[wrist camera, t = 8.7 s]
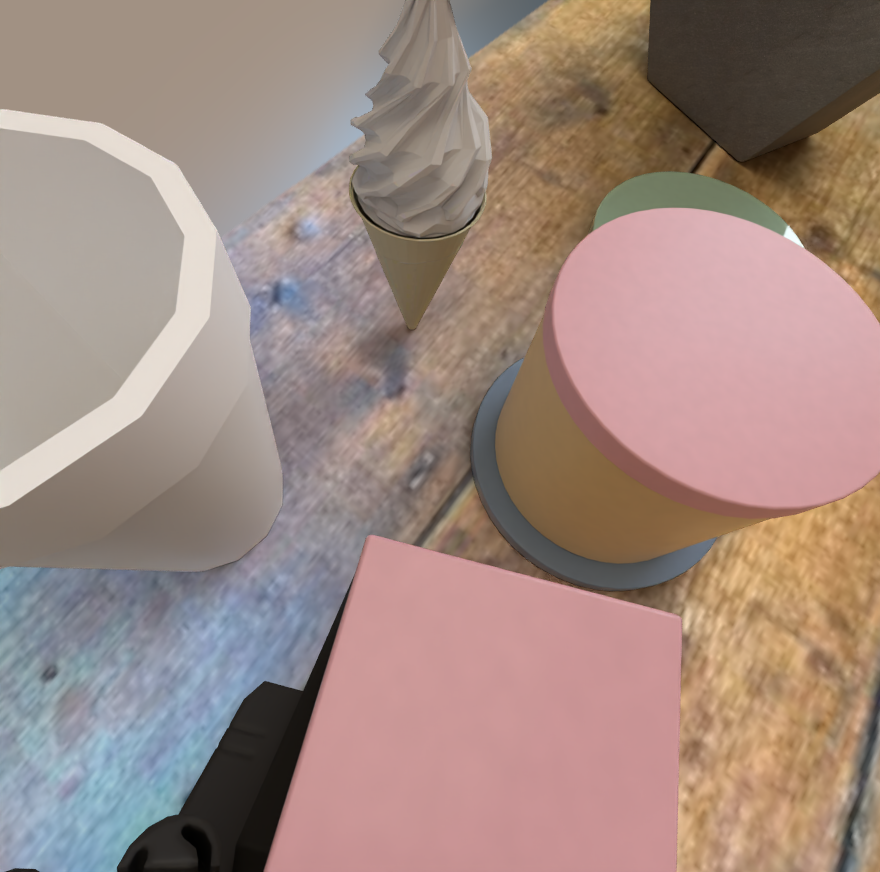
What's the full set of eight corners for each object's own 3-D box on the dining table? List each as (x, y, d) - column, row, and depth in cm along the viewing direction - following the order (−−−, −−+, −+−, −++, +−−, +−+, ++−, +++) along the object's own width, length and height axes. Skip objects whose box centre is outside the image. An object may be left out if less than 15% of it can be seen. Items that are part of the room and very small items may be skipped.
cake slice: (449, 980, 13) (651, 2211, 3) (289, 936, 13) (-82, 1985, 3) (507, 631, 16) (685, 616, 6) (383, 598, 17) (366, 532, 7)
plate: (559, 297, 26) (565, 284, 25) (617, 159, 31) (624, 145, 31) (789, 388, 25) (804, 378, 24) (809, 229, 30) (822, 216, 29)
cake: (428, 519, 21) (453, 422, 12) (519, 319, 25) (586, 142, 16) (694, 640, 19) (948, 635, 10) (736, 407, 24) (934, 268, 15)
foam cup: (172, 668, 17) (-304, 717, 6) (42, 495, 20) (-503, 265, 8) (364, 495, 21) (321, 294, 9) (235, 363, 23) (60, 59, 11)
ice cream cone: (458, 289, 26) (527, -111, 12) (461, 368, 24) (550, -6, 10) (365, 285, 25) (329, -134, 12) (361, 365, 23) (311, -29, 10)
